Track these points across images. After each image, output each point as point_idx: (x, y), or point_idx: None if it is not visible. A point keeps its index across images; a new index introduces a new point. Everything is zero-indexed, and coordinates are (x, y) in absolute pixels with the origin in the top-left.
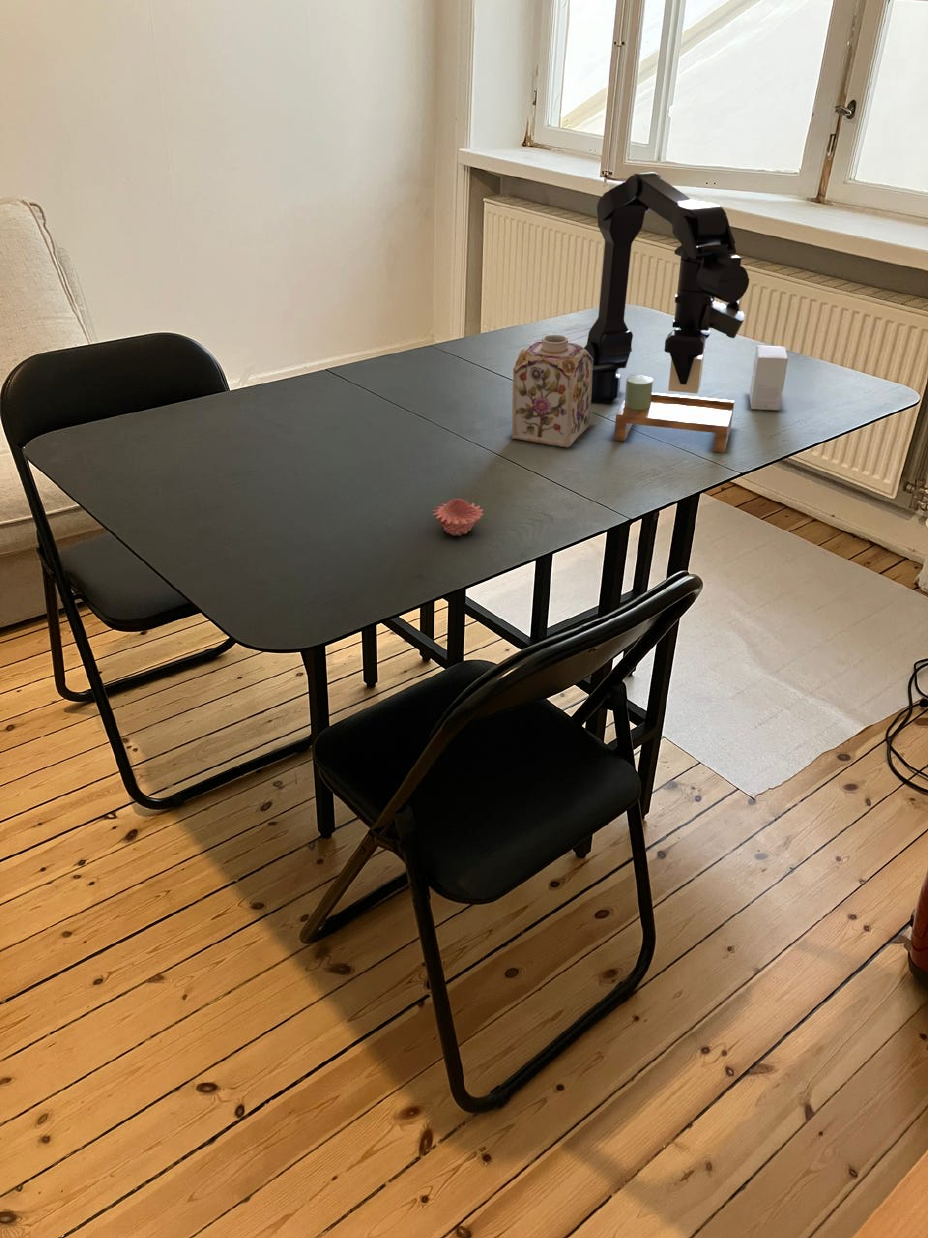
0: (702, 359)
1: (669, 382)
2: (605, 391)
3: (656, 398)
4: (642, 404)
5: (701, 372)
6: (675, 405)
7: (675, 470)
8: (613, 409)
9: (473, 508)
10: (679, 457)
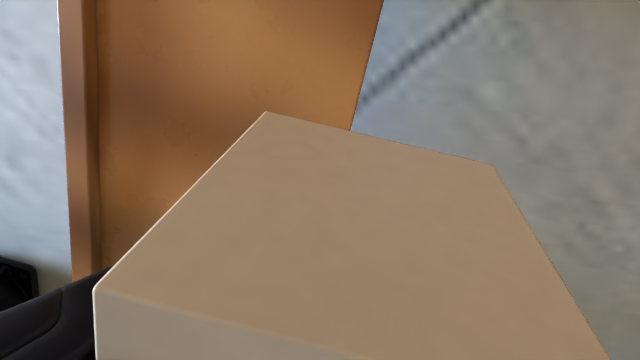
0: (347, 285)
1: None
2: (1, 305)
3: (99, 207)
4: None
5: (279, 159)
6: (156, 140)
7: (569, 138)
8: None
9: None
10: (448, 110)
